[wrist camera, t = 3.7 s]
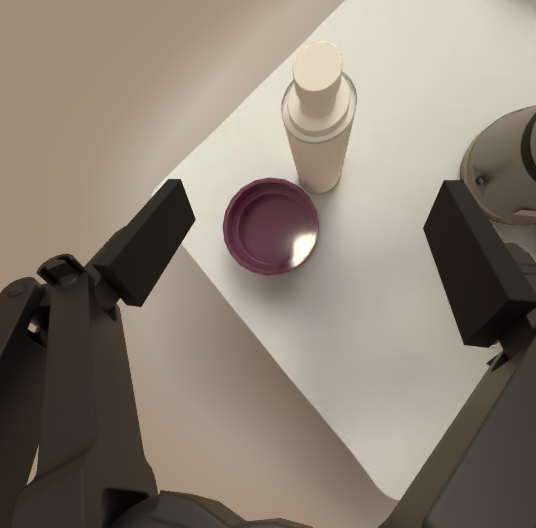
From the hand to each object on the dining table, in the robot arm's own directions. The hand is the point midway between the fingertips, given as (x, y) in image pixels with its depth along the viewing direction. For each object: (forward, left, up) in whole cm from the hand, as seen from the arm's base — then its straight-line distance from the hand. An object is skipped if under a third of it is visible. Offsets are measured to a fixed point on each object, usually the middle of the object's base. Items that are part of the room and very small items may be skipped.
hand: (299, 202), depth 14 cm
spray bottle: (-10, -4, -29) cm, 31 cm away
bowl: (+2, -6, -29) cm, 29 cm away
